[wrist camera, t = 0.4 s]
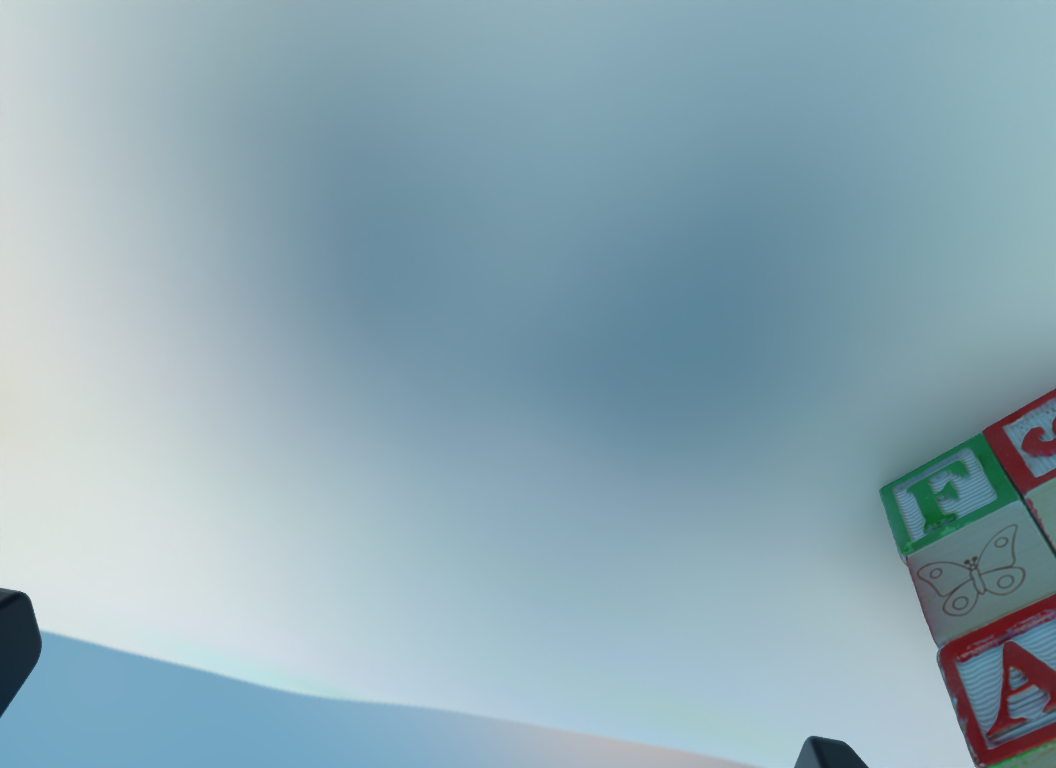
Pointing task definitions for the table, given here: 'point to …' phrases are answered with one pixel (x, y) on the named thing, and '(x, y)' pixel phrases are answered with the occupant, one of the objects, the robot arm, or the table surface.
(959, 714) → the stack of blocks
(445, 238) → the table surface
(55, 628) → the table surface
